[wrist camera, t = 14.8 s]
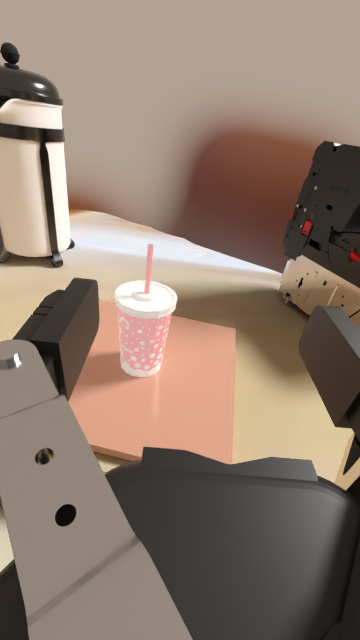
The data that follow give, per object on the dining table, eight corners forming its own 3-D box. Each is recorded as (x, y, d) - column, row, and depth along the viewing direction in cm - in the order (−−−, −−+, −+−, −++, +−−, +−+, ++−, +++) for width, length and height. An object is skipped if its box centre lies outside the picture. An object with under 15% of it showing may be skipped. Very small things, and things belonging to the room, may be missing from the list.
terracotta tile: (234, 334, 42) (235, 328, 42) (228, 486, 24) (231, 479, 24) (90, 303, 44) (90, 297, 43) (-17, 423, 26) (-20, 416, 25)
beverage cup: (116, 344, 35) (118, 230, 28) (166, 346, 36) (181, 237, 29) (111, 381, 30) (111, 255, 23) (169, 383, 31) (188, 262, 24)
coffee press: (99, 259, 57) (94, 58, 41) (12, 277, 47) (-41, 19, 30) (57, 232, 66) (39, 59, 50) (-23, 242, 56) (-79, 29, 40)
